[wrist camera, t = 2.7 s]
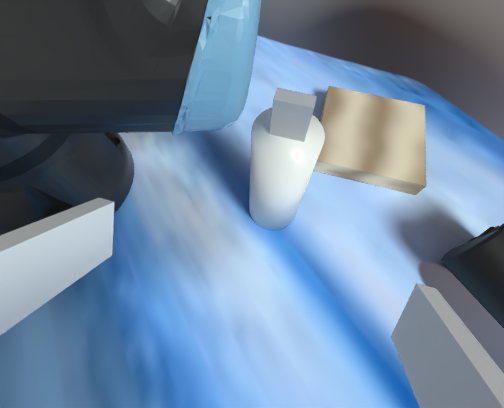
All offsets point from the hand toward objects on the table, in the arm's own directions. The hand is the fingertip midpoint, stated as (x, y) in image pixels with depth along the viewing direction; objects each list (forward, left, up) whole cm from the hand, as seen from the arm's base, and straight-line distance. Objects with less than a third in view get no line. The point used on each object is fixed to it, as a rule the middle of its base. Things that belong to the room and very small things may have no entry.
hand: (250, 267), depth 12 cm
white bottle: (0, +10, -15) cm, 18 cm away
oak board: (+9, +22, -15) cm, 28 cm away
